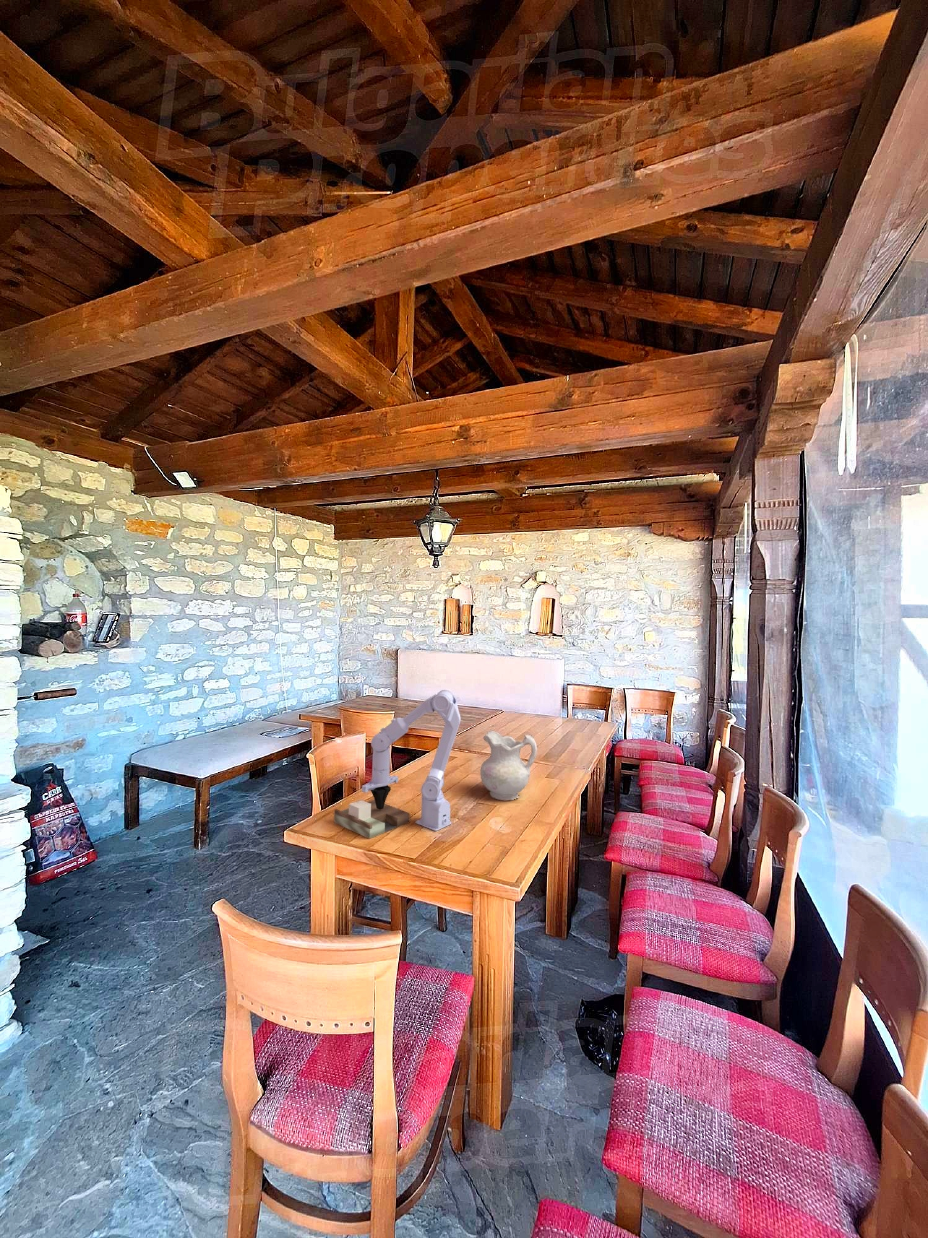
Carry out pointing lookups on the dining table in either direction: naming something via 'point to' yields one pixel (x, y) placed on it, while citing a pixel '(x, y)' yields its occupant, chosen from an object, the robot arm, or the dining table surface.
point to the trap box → (373, 820)
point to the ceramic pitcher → (506, 766)
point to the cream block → (360, 810)
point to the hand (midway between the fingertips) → (379, 808)
